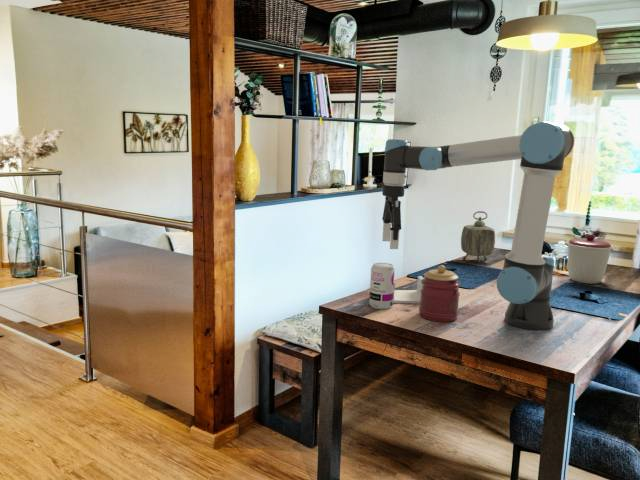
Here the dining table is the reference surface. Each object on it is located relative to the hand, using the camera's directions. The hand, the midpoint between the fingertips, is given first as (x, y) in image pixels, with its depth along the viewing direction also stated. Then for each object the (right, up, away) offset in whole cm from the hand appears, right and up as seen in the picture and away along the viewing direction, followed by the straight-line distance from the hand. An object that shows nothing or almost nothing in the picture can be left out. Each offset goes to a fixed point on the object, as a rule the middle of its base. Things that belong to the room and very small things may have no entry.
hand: (389, 245), depth 196 cm
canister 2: (+91, -16, +47) cm, 104 cm away
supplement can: (-3, -22, +1) cm, 22 cm away
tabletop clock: (+53, -9, +78) cm, 94 cm away
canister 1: (+15, -24, -8) cm, 30 cm away
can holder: (+7, -20, +12) cm, 24 cm away
